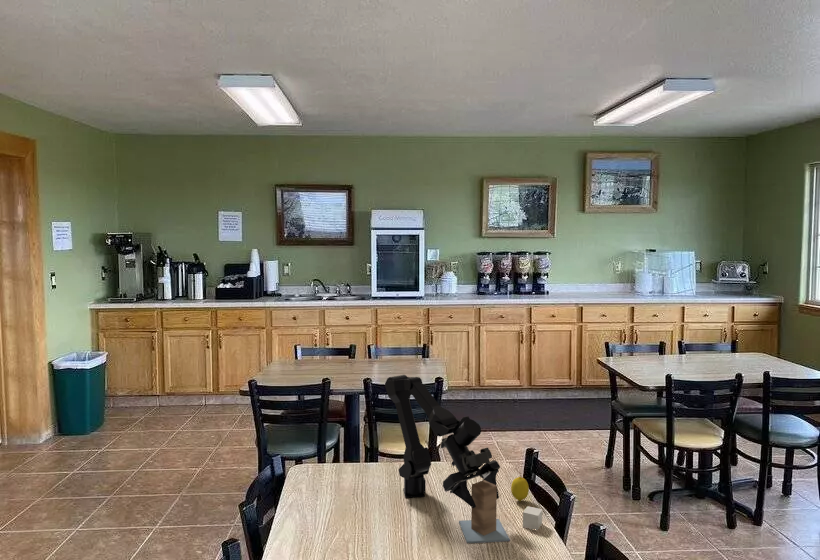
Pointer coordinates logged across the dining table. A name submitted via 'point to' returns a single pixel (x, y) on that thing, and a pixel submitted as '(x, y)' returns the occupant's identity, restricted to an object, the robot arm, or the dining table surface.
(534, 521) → the grey cube
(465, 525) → the slate mat
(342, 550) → the dining table surface
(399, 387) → the robot arm
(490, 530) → the tall block
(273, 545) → the dining table surface
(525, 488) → the lemon
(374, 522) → the dining table surface
